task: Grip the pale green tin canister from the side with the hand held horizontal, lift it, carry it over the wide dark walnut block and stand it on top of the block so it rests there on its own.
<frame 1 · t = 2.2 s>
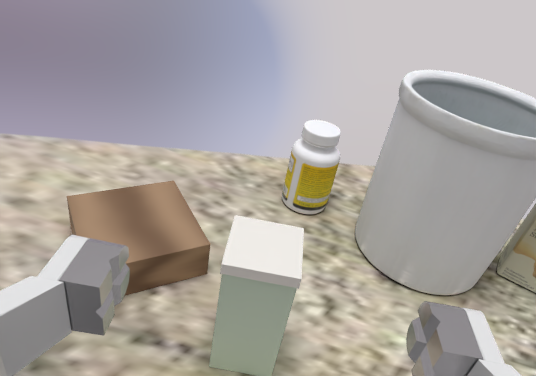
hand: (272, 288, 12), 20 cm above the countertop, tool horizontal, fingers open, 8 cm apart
canister: (244, 345, 33), on the countertop
walnut block: (137, 252, 39), on the countertop
supplement bottle: (303, 203, 50), on the countertop
skincare box: (527, 279, 45), on the countertop
utensil holder: (415, 249, 46), on the countertop
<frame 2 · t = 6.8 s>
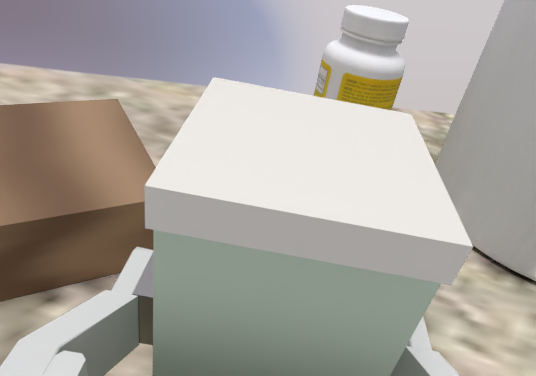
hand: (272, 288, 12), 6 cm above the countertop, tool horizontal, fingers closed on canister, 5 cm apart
walnut block: (38, 221, 21), on the countertop
supplement bottle: (337, 153, 31), on the countertop
utensil holder: (531, 222, 28), on the countertop
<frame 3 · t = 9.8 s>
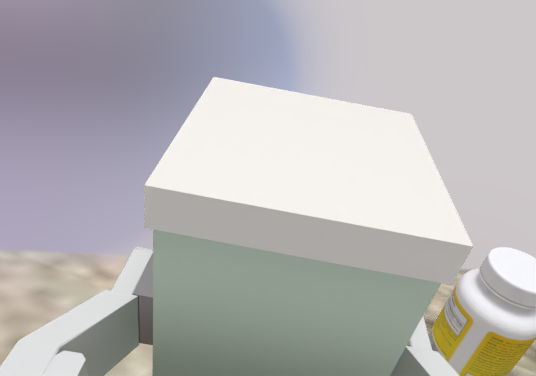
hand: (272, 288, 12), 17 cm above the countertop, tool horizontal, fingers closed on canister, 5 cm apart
supplement bottle: (456, 365, 31), on the countertop
when the fingers open (10 cm above the countertop, at t = 12.8 s): canister stays where it is, point 4 cm above the countertop.
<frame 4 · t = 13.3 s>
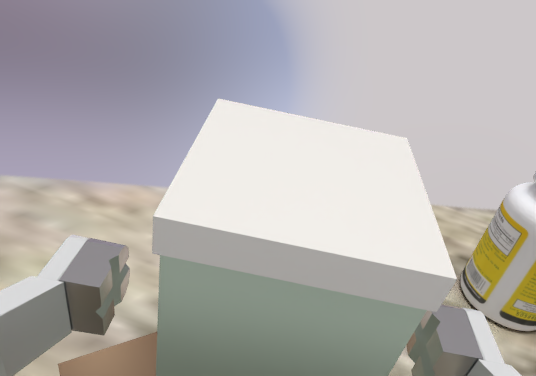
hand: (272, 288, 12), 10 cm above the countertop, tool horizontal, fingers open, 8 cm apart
supplement bottle: (498, 300, 27), on the countertop
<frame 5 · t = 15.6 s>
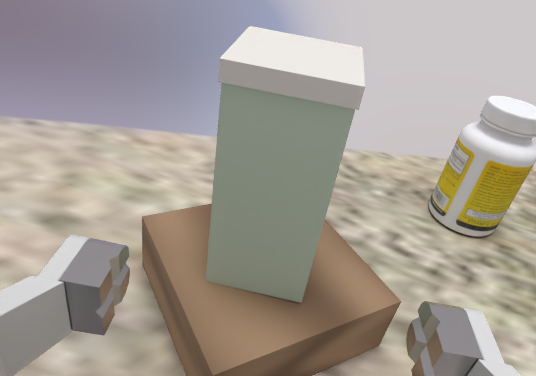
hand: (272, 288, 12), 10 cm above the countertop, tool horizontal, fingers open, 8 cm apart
canister: (262, 258, 22), point 4 cm above the countertop, touching walnut block
walnut block: (254, 307, 24), on the countertop, touching canister
supplement bottle: (458, 218, 35), on the countertop
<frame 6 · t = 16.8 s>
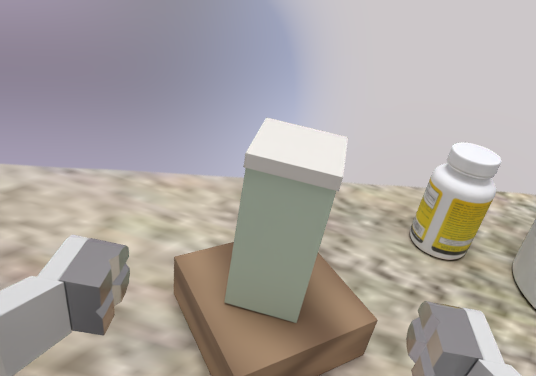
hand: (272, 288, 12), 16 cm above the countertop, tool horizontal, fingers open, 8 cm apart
canister: (267, 286, 28), point 4 cm above the countertop
walnut block: (264, 326, 30), on the countertop
supplement bottle: (435, 243, 41), on the countertop
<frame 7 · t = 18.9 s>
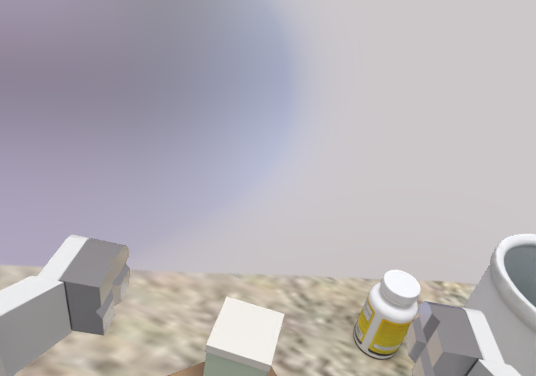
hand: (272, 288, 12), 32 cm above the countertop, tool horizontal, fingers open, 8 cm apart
supplement bottle: (374, 340, 50), on the countertop
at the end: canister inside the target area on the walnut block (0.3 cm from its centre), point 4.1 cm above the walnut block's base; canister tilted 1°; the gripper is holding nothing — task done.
